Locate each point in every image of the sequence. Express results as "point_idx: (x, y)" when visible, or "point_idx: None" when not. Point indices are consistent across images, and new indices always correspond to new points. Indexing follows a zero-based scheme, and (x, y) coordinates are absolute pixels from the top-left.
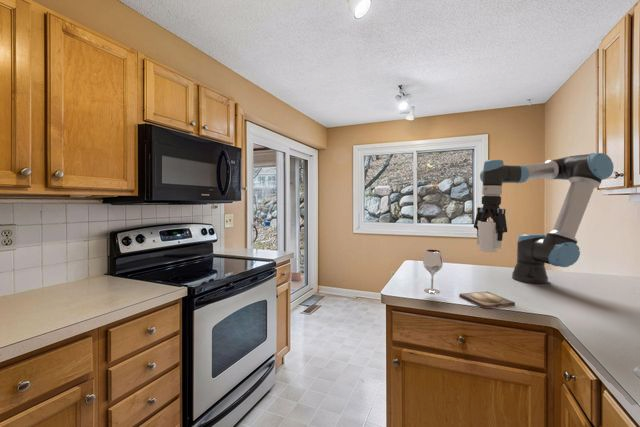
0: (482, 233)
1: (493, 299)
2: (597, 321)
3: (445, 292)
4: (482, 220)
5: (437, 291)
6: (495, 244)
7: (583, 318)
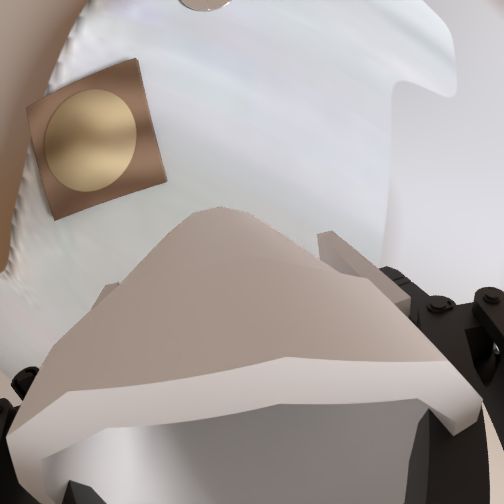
0: (169, 251)
1: (65, 156)
2: (10, 343)
3: (189, 28)
4: (426, 465)
5: (195, 2)
6: (98, 301)
7: (16, 331)
